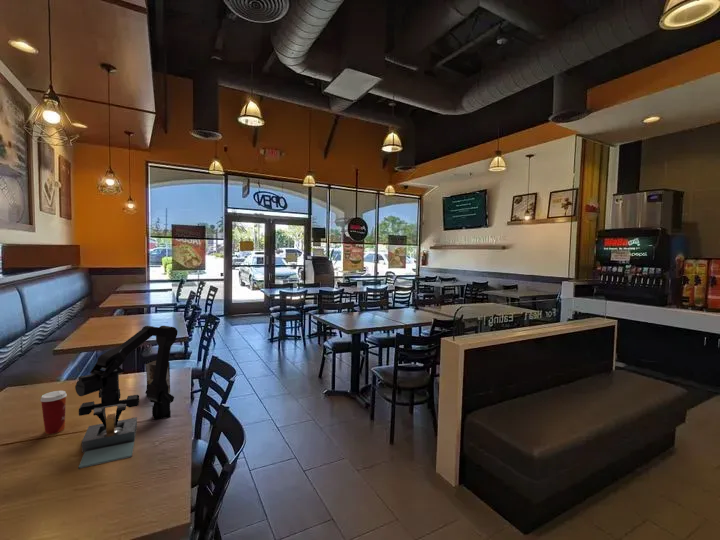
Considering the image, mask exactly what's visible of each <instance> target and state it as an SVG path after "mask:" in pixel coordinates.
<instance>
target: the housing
mask: <svg viewBox="0 0 720 540" xmlns="http://www.w3.org/2000/svg"><path fill="white" fill-rule="evenodd" d="M116 427H121V428H122V431H120V432H115V433H110V434H105V435H100V433H101V432H102V431H103V430H106V428H105V426H104V425H103V423H98V424H91V425H88V427H87V430H86V432H85V434H84V436H83V438H82V440H81V453H82V454H84V453H85V452H86V451H91V450H96V449H101V448H106V447H110V446H115V445H120V444H125V443H130V442H134V443H135V441H136V436H137V430H138V417H131V418H126V419H119V420H118V422H117V426H116Z"/></svg>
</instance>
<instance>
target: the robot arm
mask: <svg viewBox="0 0 720 540" xmlns="http://www.w3.org/2000/svg"><path fill="white" fill-rule="evenodd" d="M178 333H179V332H178V329H177V328H176V327H174V326H169V325H160V326H159V327H156V326H153V325H152V326H151V325H144V326H142V329H140V330H139V331H138V332H136V333H135V334H134V335H132V336H131V337H130V338H128V339H126V341H124V342H123V343H122V344H120V345H119V346H117V347H115V348H111V349H109V350H107V351H106V352H104V353H102V354H101V355H99V356H98V358H97V361H96V363H95V365H94V366H93V368H92V369H91V371H90V372H89V373H90V374H87V375H82V376H78V380H77V381H76V383H75V386H74V390H75V392H76V394H77V395H78V396H79V397H84V396H87V395H89V394H92V393H96V392H98V398H99V399H100V403H95V401H87V402H83V403H81V405H80V406H79V408H78V416H79V417H80V416H87V415H90V414H91V413H92V412H93V416H96V417H97V418H99V420H100V421H101V422H102V423H101V424H103V425H104V426H105V428H106V418H107V415H106V408H114V407H116V410H115V416H116V418H115V426H117V422H118V421H119V420H120V416H121V414H122V412H123V411H126V409H127V408H134V407H138V406H139V405H140V395H139V394H132V395H128V396H127V398H125V399H121V389H120V379H119V374H122V373H124V372H125V370H124V369H123V368H121V366H122V364H124V363H125V361H126V359H127V357H128V356H129V355H130V354H131V353H132V352H134V351H135V350H137V348H139V347H140V346H142V344H144V343H146V342H147V341H148V340H149V339H150V338H152V337H155V340H156V344H157V354H156V359H155V361H156V366H155V372H154V379H153V381H152V382H151V383H150V384H147V383H146V391H145V396H146V398H147V399H148V400H149V402H150V403H153V405H152V406H151V408H152V411H151V412H152V413H151V414H152V415H151V417H152V418H153V420H154V421H156V420H160V419H166V418H170V417H171V412H172V411H171V404H172V403H173V402H174V400H175V396H174V395H172V394H171V393H169V387H168V384H167V381H166V377H167V370H168V363H169V362H170V355H171V348H172V346H173V345H174V343H175V342H176V340H177V337H178ZM102 369H103V370H102ZM120 399H121V400H120Z"/></svg>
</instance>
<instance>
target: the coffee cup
mask: <svg viewBox="0 0 720 540" xmlns="http://www.w3.org/2000/svg"><path fill="white" fill-rule="evenodd" d="M66 392H67V391H65V390H54V391H50V392H46V393H45V394H42V396H41V398H40V399H39V401H40V402H41V409H42V417H43V427H44V433H45V435H53V434H57V433H61V432H62V431H64V430H65V428H66V427H65V426H66V405H67V404H66V403H67V400H66V399H67V395H68V394H67V393H66Z"/></svg>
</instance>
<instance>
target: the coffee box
mask: <svg viewBox="0 0 720 540" xmlns="http://www.w3.org/2000/svg"><path fill="white" fill-rule="evenodd" d="M170 364H171V363H170V361H169V363H168V370H167V377H166V381H167V384H168V387H169V394H171V375H170V374H171V373H170V372H171V370H170V367H171V366H170ZM155 366H156V360H153V361H150V362H148V363H146V364H145V367H146V368H145V373H146V385H147V384H150V383H151V382H152V381H153V379H154V372H155Z"/></svg>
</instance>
